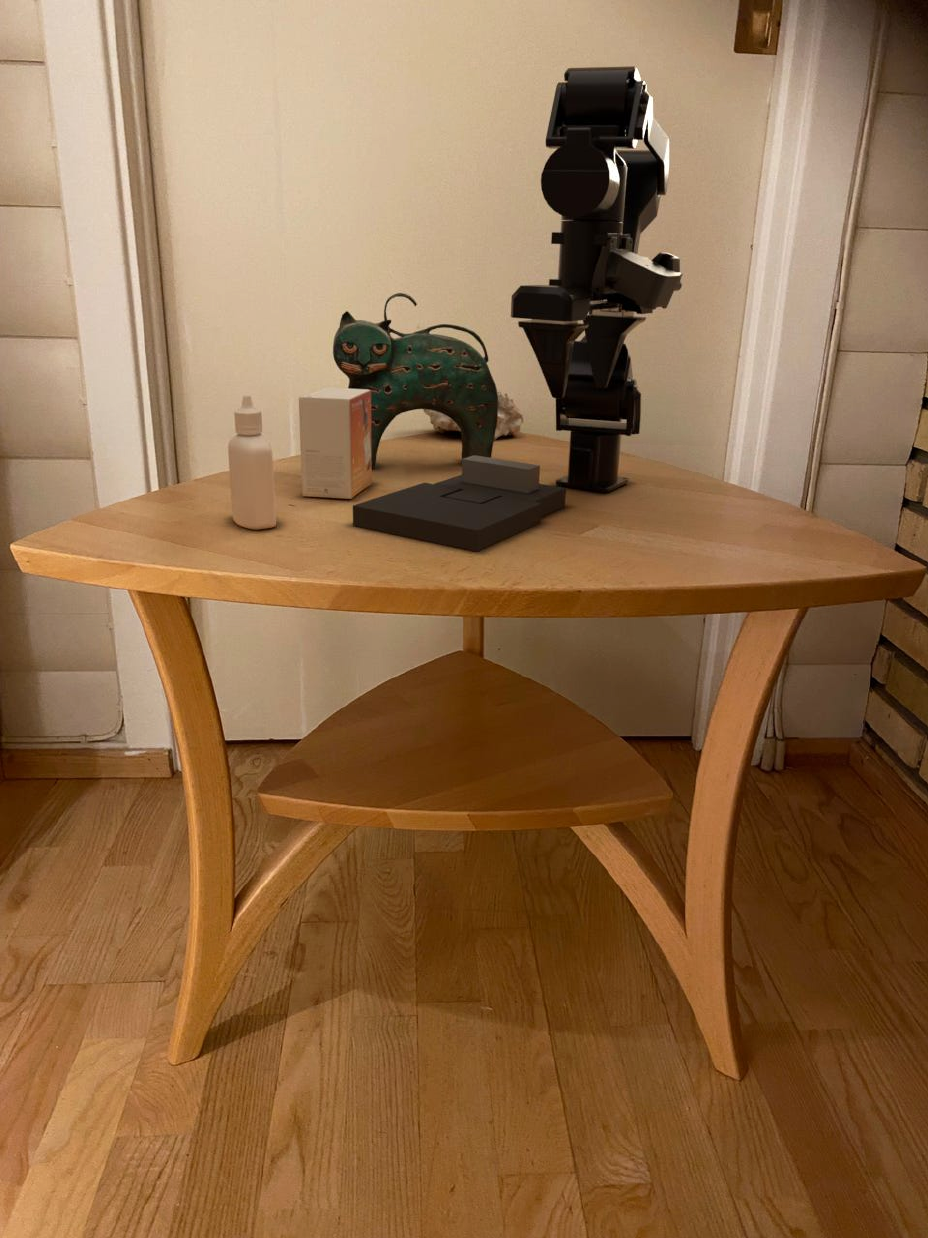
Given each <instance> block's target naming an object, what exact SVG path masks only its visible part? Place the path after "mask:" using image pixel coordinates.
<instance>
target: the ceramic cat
mask: <svg viewBox="0 0 928 1238" xmlns="http://www.w3.org/2000/svg"><path fill="white" fill-rule="evenodd" d="M396 297H397V298H398V297H402V298H406V299H408V300H409V301H410V302H411V303H412V304H413V306H414V307H416V306H417V305H418V304H417V301H416V300H415V299H414V298H413V296H411V295H409V294H407V293H403V292H397V293H394V294H392V295H390V296H389V297H388V298H387V299H386V301H385V304H384V307H383V320H381V321H379V322H376V323H375V322H372V321H369V320H363V319H356V318H354V317H353V315H352V314H351V313H350V312H349V311H348V310H346V311H345V312H344V313H342V315H341V318H340V321H339V326H338V328H337V330H336V332H335V334H334V338H333V345H332V356H333V360H334V362H335V364H336V366H337V368H338V369H339V370H340V371H341V372H342V373H343V374H344V375H345V376H346V377H347V378H348V381H349V382H348V387H347V388H348V389H366V390H371V467H372V470H373V469H375V468H376V465H377V455H378V450H379V446H380V443H381V439H382V437H383V434H384V433H385V431H386V430H387V427H389V425H390V424H391V423H392V422H393V420H395V418H396V417H397V416H399V415H400V414H402V413H407V412H410V411H415V410H423V409H428V410H433V411H437V412H440V413H442V414H444V415H446V416H448V417H449V418H451V419H452V420H453V421H454V422H455V423H456V424H457V425H458V426H459V428H460V429H461V432H460V435H461V436H460V437H461V460H462V459H464V458H467V457H470V456H473V455H476V456H482V457H489V458H492V455H493V454H492V453H493V448H494V441H495V440H494V437H495V430H496V427H497V419H498V393H497V392H498V389H497V385H496V382H495V380H494V377H493V375H492V373H491V370H490V367H489V365H488V362H489V361H490V360H489V355H488V350H487V348H486V345H485V343H484V341H483V340H482V338H481V336H479V335H478V334H477V333H476V332H475V331H474V330H472V329H469V328H467V327H464V326H460V325H457V324H448V323H441V324H436V325H432V326H428V327H427V328H424V329H420V330H415V331H414V332H412V333H403V332H400V331H397V330H396V329H394V328H391V327H390V325H391V323H392V319H388V317H387V307H388V303H389V302H390V301H391V300H392V299H395V298H396ZM443 328H445V329H453V330H456V331H460V332H464V333H467V334H469V335H471V336H472V337H473V338H474V339H475V340H476V341H477V342H478V343H479V344H480V346H481V348H482V350H483V354H484V356H482V354H481V353H480V352H479V351H478V350H477V349H476V348H475V347H474V346H472V345H471V344H469V343H467V342H466V341H463V340H461V339H458V338H456V337H452V336H450V335H449V336H448V335H443V334H438V333H430V332H431V331H434V330H436V329H443ZM392 334H395V335H397V336H398V337H395V338H394V337H393V336H392Z"/></svg>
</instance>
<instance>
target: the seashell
mask: <svg viewBox="0 0 928 1238" xmlns="http://www.w3.org/2000/svg"><path fill="white" fill-rule="evenodd" d="M497 393H498V419H497V427H496V430H495V437H494V441H495V440H497V439H498V438H500V437H502V436H505V437H507V435H510V436H511V437H517V435H518V434H519V433H520V432H521V426H522V424H524V416H523V413H522V412H521V411H520V409H519V408H518V407H517V404H515V402H514V399H513V398H512V399H510V398H509V396H508V393H505V394H503V393H502V392H501V391H497ZM422 411H423V412H424V414H425V415H427V416H428V417H429V419H430V424H431V425H432V426H433V430H435V431H436V432H438V433H441V434H445V433H446V432H448V431H449V432H451V431H456V432H459V433H461V429H460V428H459V426H458V425H457V424H456V423H455V422H454V421H453V420H452V419H451V418H449V417H448V416H446V415H444V414H442V413H440V412H437V411H433V410H428V409H422Z"/></svg>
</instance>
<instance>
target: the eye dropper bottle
mask: <svg viewBox="0 0 928 1238" xmlns="http://www.w3.org/2000/svg"><path fill="white" fill-rule="evenodd" d="M233 413H234V428H235V429H234V430H235V431H234V432H235V433H236V435H234V436H233V437H231V438H230V439H229V441H228V445H227V452H228V453H227V454H228V469H229V483H230V498H231V499H230V500H231V514H232V520H233V522H234V523H235V524H236V525H238V526H240V527H242V528H245V529H249V530H254V531H255V530H258V531H259V530H264V529H271V528H275V527H276V525H277V509H276V492H275V489H276V488H275V473H274V472H275V471H274V457H273V449H272V446H271V444H270V442H269V441H268V439H267V438H266V437H265V436H264V435H263V417H262V416H263V415H262V411H261V410H260V409H258V408H256V407H255V405H254V403H253V398H252V395H250V394H248V395H247V394H245V395H242V401H241V406H240V408H238V409H236V410H235V411H234V412H233Z"/></svg>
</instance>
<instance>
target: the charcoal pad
mask: <svg viewBox="0 0 928 1238" xmlns="http://www.w3.org/2000/svg"><path fill="white" fill-rule="evenodd" d="M459 491H460V489H458V488H453V487H447V486H441V485H435V483H429V482H422V483H419V484H416V485H413V486H409V487H406V488H403V489H400V490H396V491H393V492H391V493H387V494H385V495H381V496H378V497H375V498H371V499H369V500H365V501H362V502H360V503H357V504H353V505H352V526H354V527H359V528H363V529H368V530H372V531H378V532H382V533H386V534H391V535H396V536H400V537H404V538H405V537H406V538H410V539H415V540H420V541H424V542H429V543H433V544H438V545H442V546H446V547H447V546H448V547H452V548H457V549H461V550H467V551H471V552H476V553H477V552H480V551H482V550H484V549H486V548H488V547H490V546H493V545H495V544H498V543H500V542H501V541H503V540H506V539H508V538H510V537H512V536H514V535H517V534H520V533H521V532H523V531H525V530H528V529H530V528H532V527H534V526H537V525H539V524H540V523H541V522H542V517H541V509H542V503H538V502H533V501H527V500H521V499H516V498H510V497H504V496H502V497H499V498H497V499H494V500H491V501H489V502H486V503H484V504H478V503H472V502H467V501H461V500H456V499H450V498H445V496H447V495H450V494H453V493H456V492H459Z"/></svg>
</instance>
